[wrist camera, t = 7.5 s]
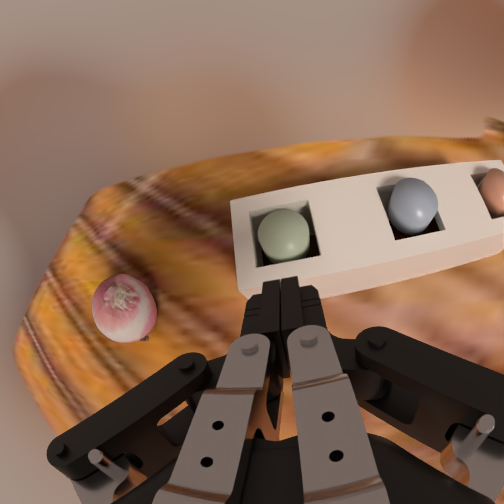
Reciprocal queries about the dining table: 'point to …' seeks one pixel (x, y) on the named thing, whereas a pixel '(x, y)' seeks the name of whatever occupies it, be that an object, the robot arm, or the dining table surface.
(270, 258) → the sage button
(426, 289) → the dining table surface
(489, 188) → the terracotta button
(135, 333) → the onion
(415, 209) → the slate button
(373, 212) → the block
